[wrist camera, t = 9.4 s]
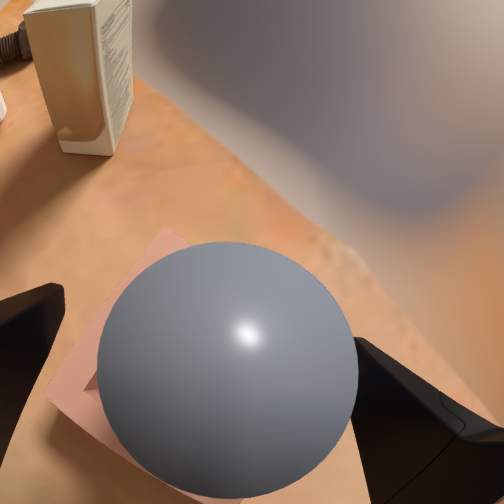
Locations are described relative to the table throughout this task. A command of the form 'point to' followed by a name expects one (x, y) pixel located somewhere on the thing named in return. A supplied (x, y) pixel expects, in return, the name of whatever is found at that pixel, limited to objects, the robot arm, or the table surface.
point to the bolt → (15, 45)
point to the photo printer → (2, 109)
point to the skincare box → (84, 69)
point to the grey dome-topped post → (227, 370)
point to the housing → (85, 366)
